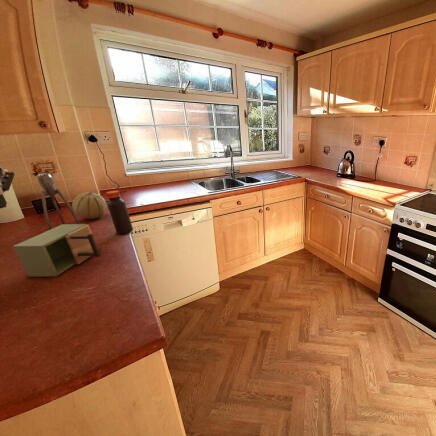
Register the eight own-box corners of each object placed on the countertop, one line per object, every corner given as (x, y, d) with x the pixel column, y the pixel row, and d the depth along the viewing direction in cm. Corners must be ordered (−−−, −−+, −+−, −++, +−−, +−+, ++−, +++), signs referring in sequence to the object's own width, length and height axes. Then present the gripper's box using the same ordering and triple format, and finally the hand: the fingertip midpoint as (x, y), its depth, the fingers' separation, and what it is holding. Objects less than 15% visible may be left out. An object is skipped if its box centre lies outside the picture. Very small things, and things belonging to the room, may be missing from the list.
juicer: (84, 233, 117) (60, 171, 106) (53, 241, 109) (24, 176, 98) (81, 228, 123) (58, 169, 112) (51, 235, 116) (24, 173, 104)
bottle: (127, 228, 122) (115, 189, 114) (136, 229, 119) (124, 190, 112) (113, 233, 116) (99, 193, 109) (123, 235, 114) (109, 194, 106)
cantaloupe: (84, 215, 141) (75, 190, 135) (113, 211, 145) (105, 187, 139) (72, 224, 128) (61, 197, 122) (104, 220, 132) (95, 194, 126)
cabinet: (28, 276, 85) (12, 246, 80) (72, 250, 101) (61, 224, 97) (58, 276, 84) (44, 245, 80) (98, 250, 101) (88, 224, 96)
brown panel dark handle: (76, 264, 91) (64, 236, 86) (95, 252, 99) (85, 226, 94) (99, 264, 90) (88, 235, 86) (115, 252, 99) (106, 225, 94)
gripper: (-14, 144, 71) (13, 201, 77) (-80, 149, 58) (-42, 216, 65) (11, 143, 70) (35, 200, 77) (-50, 148, 58) (-15, 216, 65)
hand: (0, 207), depth 71 cm, fingers closed
